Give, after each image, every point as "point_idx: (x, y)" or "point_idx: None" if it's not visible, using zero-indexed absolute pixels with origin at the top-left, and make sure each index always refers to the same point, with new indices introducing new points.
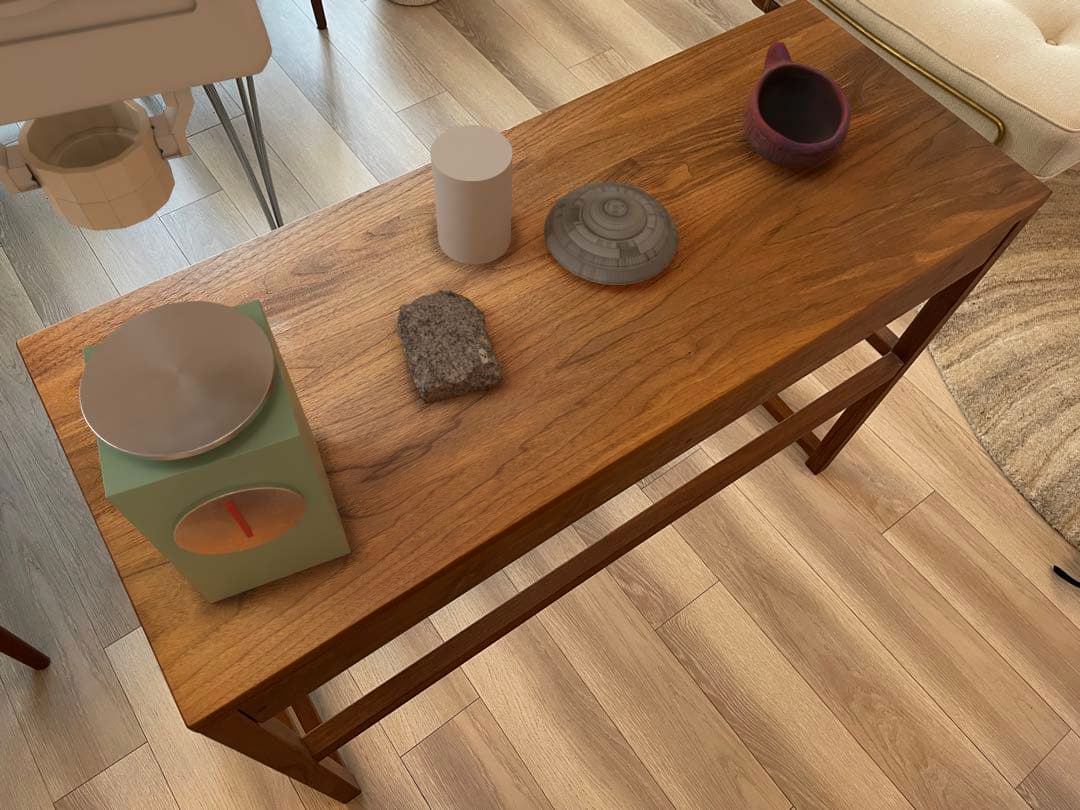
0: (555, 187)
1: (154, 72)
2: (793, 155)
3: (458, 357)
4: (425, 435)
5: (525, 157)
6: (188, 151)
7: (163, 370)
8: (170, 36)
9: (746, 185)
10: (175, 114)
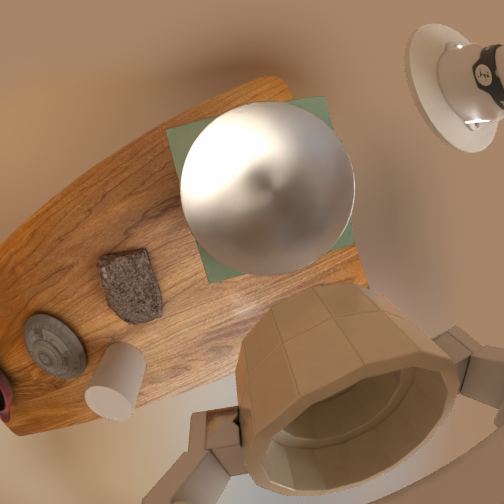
0: (88, 382)
1: None
2: None
3: (118, 273)
4: (145, 224)
5: None
6: (194, 418)
7: (285, 195)
8: None
9: (8, 361)
10: (185, 484)
